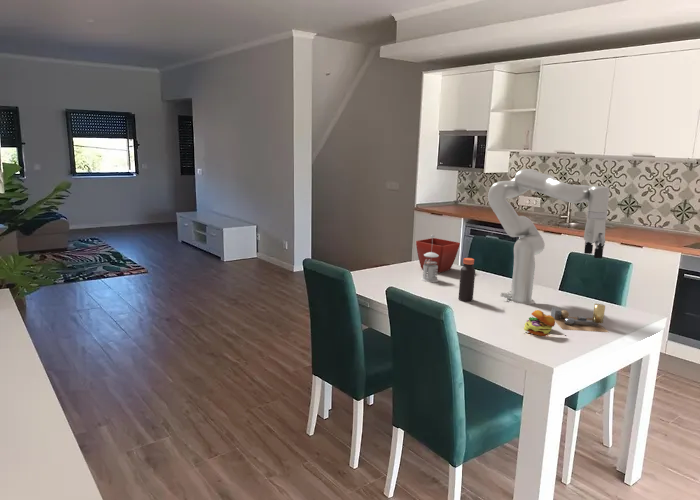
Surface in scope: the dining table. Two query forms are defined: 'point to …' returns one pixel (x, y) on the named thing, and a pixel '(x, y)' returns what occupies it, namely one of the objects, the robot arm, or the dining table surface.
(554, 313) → the anvil
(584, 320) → the lever
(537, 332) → the cheeseburger
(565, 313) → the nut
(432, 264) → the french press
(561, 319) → the board
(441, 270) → the plant pot
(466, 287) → the bottle
